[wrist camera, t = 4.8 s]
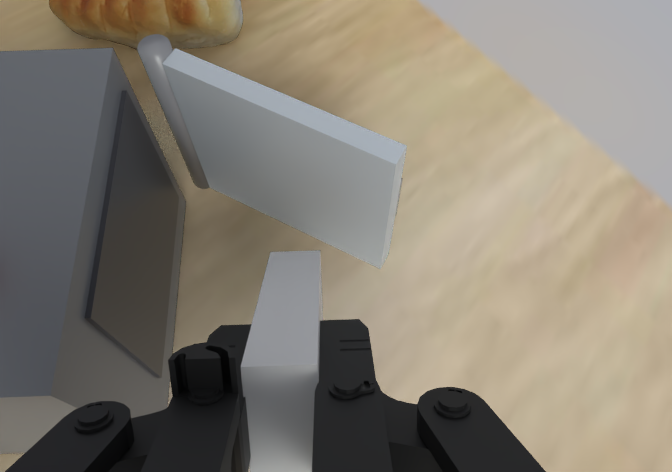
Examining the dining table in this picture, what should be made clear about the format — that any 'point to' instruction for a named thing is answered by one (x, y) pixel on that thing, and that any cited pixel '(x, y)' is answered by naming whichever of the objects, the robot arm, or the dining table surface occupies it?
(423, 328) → the dining table surface
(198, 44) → the pastry
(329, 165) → the side door
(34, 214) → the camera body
